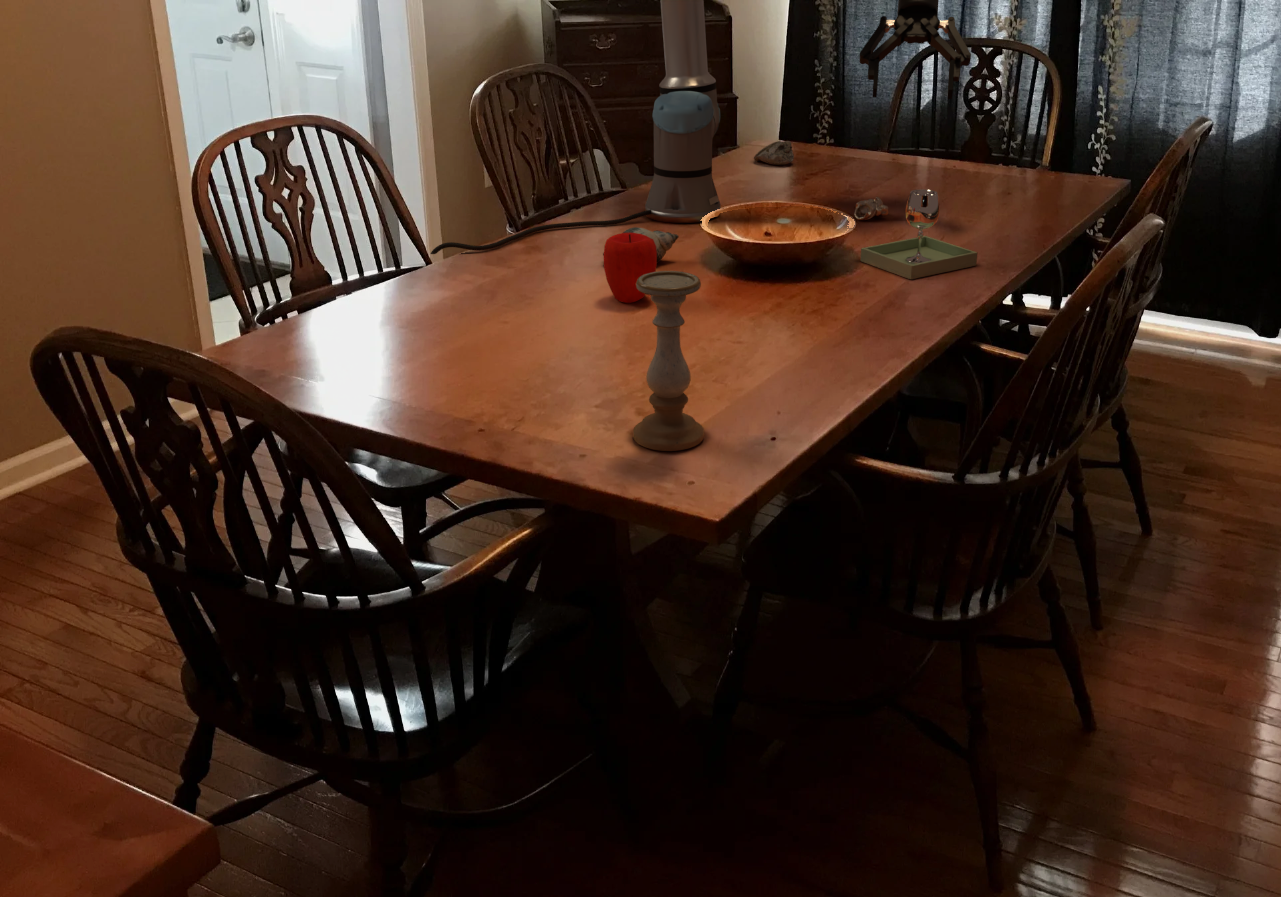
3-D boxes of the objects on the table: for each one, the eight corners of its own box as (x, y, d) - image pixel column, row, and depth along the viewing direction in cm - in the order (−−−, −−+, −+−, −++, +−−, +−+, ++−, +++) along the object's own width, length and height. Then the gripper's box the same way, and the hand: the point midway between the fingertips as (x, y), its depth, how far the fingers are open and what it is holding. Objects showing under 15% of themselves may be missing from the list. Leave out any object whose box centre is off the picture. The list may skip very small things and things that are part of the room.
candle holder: (690, 456, 152) (691, 293, 143) (622, 446, 155) (619, 286, 146) (713, 428, 159) (715, 272, 151) (648, 419, 162) (647, 265, 154)
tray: (910, 279, 215) (911, 265, 214) (860, 261, 225) (860, 248, 224) (976, 265, 222) (977, 252, 221) (924, 248, 232) (925, 235, 231)
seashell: (614, 264, 230) (677, 269, 226) (599, 258, 223) (663, 263, 219) (619, 229, 230) (681, 234, 226) (604, 222, 223) (667, 226, 219)
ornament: (879, 224, 248) (880, 205, 247) (847, 219, 251) (848, 201, 250) (895, 215, 254) (896, 197, 253) (863, 211, 258) (864, 193, 256)
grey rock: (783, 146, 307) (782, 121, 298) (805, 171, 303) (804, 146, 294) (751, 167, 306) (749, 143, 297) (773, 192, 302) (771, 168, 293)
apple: (667, 302, 205) (667, 236, 201) (620, 311, 202) (619, 244, 197) (640, 288, 212) (639, 224, 208) (594, 296, 209) (592, 232, 204)
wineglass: (933, 255, 226) (939, 188, 221) (936, 264, 221) (942, 196, 216) (900, 255, 226) (905, 188, 221) (903, 264, 221) (908, 196, 216)
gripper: (984, 13, 241) (979, 107, 234) (851, 12, 246) (843, 104, 239) (988, -14, 234) (984, 82, 227) (852, -15, 239) (843, 79, 232)
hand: (912, 93), depth 233 cm, fingers open, 13 cm apart
